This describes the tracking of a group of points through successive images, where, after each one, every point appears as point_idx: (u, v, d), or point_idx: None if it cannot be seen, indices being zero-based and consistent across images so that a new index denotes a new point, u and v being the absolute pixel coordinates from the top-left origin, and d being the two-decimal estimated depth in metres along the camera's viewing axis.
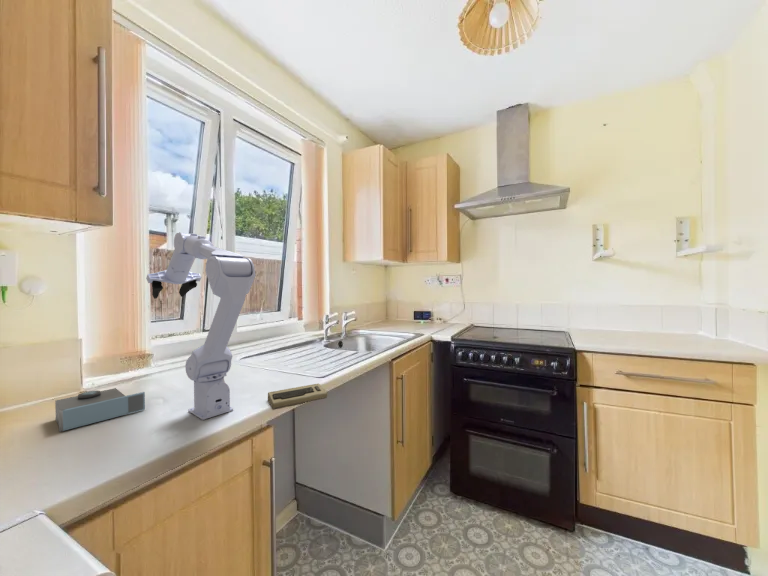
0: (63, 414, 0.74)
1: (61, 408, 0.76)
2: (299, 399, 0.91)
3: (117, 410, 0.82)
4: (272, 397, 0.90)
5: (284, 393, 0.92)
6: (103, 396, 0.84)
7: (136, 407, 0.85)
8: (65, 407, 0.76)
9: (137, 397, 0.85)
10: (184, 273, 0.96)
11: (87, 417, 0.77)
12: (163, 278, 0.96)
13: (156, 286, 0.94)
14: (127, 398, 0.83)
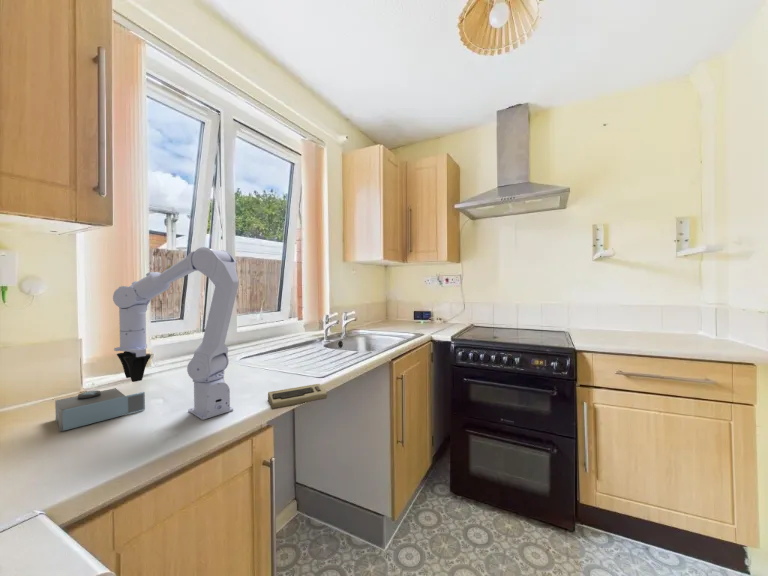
0: (63, 414, 0.74)
1: (61, 408, 0.76)
2: (299, 399, 0.91)
3: (117, 410, 0.82)
4: (272, 397, 0.90)
5: (284, 393, 0.92)
6: (103, 396, 0.84)
7: (136, 407, 0.85)
8: (65, 407, 0.76)
9: (137, 397, 0.85)
10: None
11: (87, 417, 0.77)
12: (140, 348, 0.85)
13: (147, 355, 0.86)
14: (127, 398, 0.83)
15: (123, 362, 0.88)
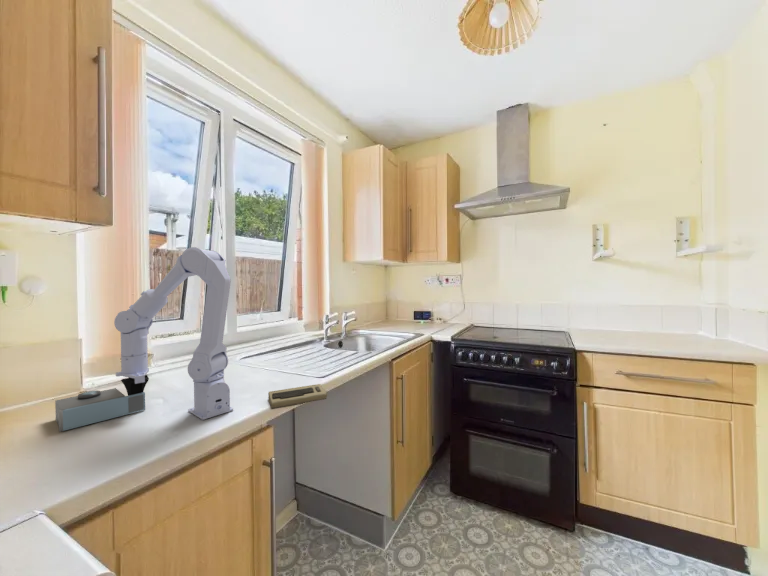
0: (62, 414, 0.74)
1: (61, 408, 0.76)
2: (298, 399, 0.91)
3: (117, 410, 0.82)
4: (271, 396, 0.91)
5: (284, 393, 0.93)
6: (103, 396, 0.84)
7: (137, 408, 0.85)
8: (65, 407, 0.76)
9: (138, 397, 0.85)
10: None
11: (87, 417, 0.77)
12: None
13: (145, 378, 0.87)
14: (127, 398, 0.83)
15: None
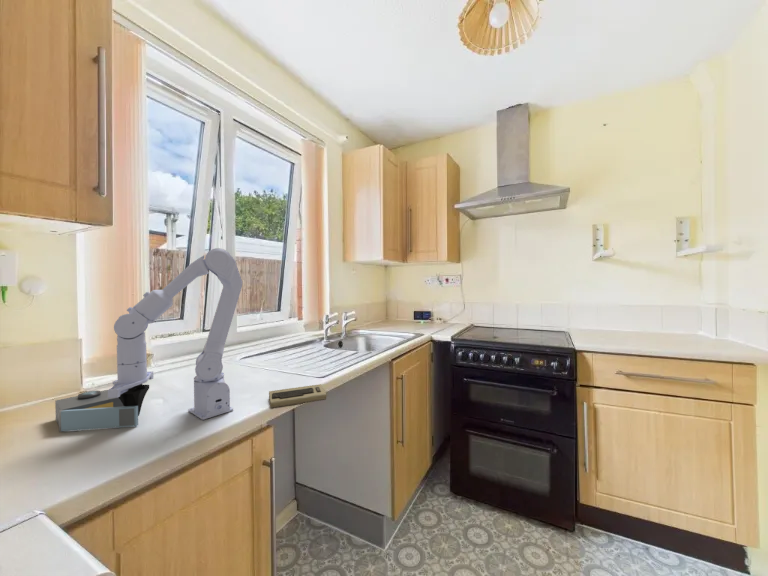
0: (61, 415, 0.74)
1: (61, 408, 0.76)
2: (297, 400, 0.91)
3: (109, 421, 0.75)
4: (271, 396, 0.91)
5: (283, 393, 0.93)
6: (103, 396, 0.84)
7: (127, 422, 0.76)
8: (65, 407, 0.76)
9: (128, 410, 0.76)
10: (145, 363, 0.79)
11: (81, 422, 0.75)
12: None
13: (138, 390, 0.77)
14: (118, 410, 0.76)
15: None
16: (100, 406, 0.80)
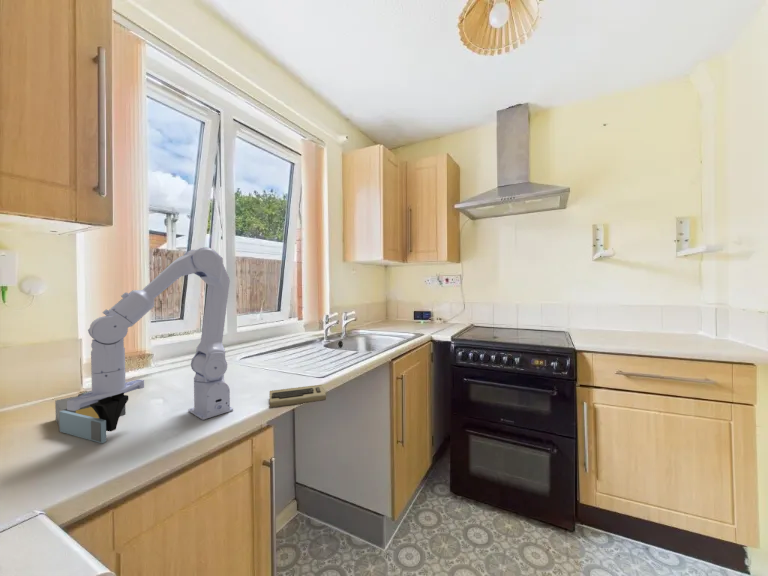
0: (59, 415, 0.74)
1: (61, 408, 0.76)
2: (297, 400, 0.91)
3: (85, 431, 0.70)
4: (271, 396, 0.91)
5: (283, 392, 0.93)
6: None
7: (96, 437, 0.69)
8: (65, 407, 0.76)
9: (97, 424, 0.69)
10: (120, 372, 0.71)
11: (70, 427, 0.72)
12: None
13: (108, 403, 0.69)
14: (90, 421, 0.69)
15: None
16: None
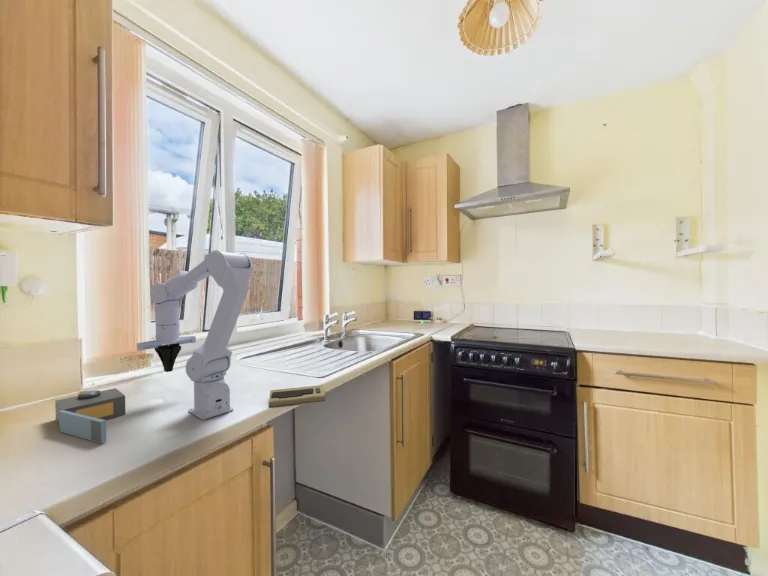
0: (59, 415, 0.74)
1: (61, 408, 0.76)
2: (296, 400, 0.91)
3: (85, 431, 0.70)
4: (271, 395, 0.91)
5: (283, 392, 0.93)
6: (103, 396, 0.84)
7: (96, 437, 0.69)
8: (65, 407, 0.76)
9: (97, 424, 0.69)
10: (173, 327, 0.91)
11: (70, 427, 0.72)
12: None
13: (164, 349, 0.89)
14: (90, 421, 0.69)
15: None
16: (100, 406, 0.80)
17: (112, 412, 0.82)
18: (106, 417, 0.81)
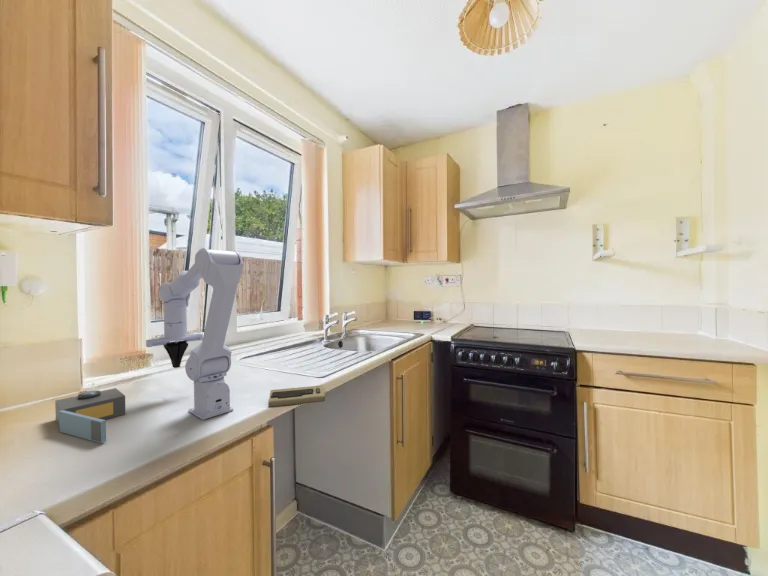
0: (59, 415, 0.74)
1: (61, 408, 0.76)
2: (295, 400, 0.90)
3: (85, 431, 0.70)
4: (271, 395, 0.92)
5: (283, 392, 0.93)
6: (103, 396, 0.84)
7: (96, 437, 0.69)
8: (65, 407, 0.76)
9: (97, 424, 0.69)
10: (180, 324, 0.94)
11: (70, 427, 0.72)
12: None
13: (171, 346, 0.93)
14: (90, 421, 0.69)
15: None
16: (100, 406, 0.80)
17: (112, 412, 0.82)
18: (106, 417, 0.81)
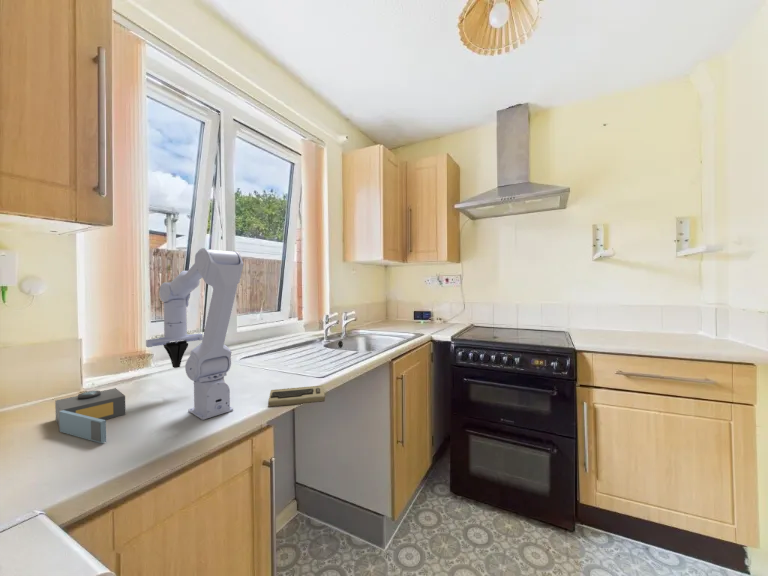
0: (59, 415, 0.74)
1: (61, 408, 0.76)
2: (295, 400, 0.90)
3: (85, 431, 0.70)
4: (271, 395, 0.92)
5: (283, 392, 0.93)
6: (103, 396, 0.84)
7: (96, 437, 0.69)
8: (65, 407, 0.76)
9: (97, 424, 0.69)
10: (180, 324, 0.94)
11: (70, 427, 0.72)
12: None
13: (171, 346, 0.93)
14: (90, 421, 0.69)
15: None
16: (100, 406, 0.80)
17: (112, 412, 0.82)
18: (106, 417, 0.81)
